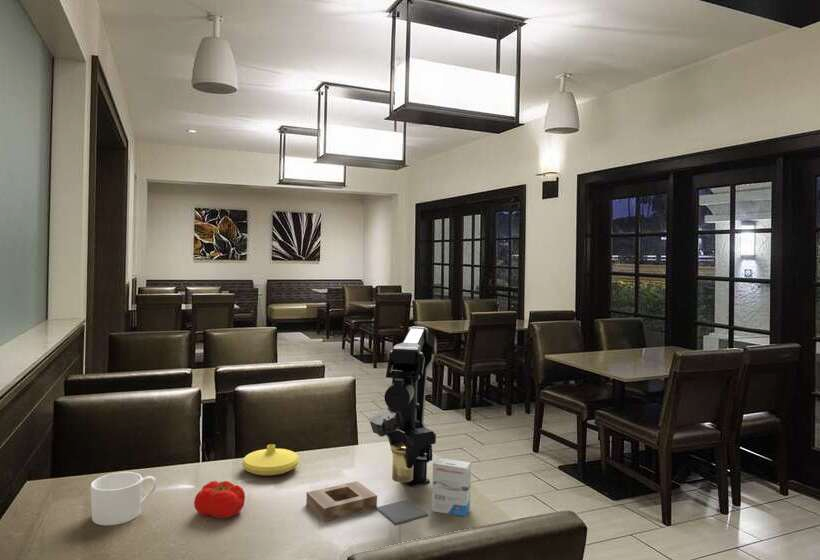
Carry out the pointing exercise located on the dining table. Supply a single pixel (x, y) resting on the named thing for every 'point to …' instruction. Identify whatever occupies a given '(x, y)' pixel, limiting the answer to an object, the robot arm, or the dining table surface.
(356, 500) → the bore block
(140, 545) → the dining table surface
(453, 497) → the ink box
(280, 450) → the yellow flat knobbed disc
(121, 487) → the mug
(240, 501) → the tomato
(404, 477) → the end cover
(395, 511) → the felt pad
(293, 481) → the dining table surface
